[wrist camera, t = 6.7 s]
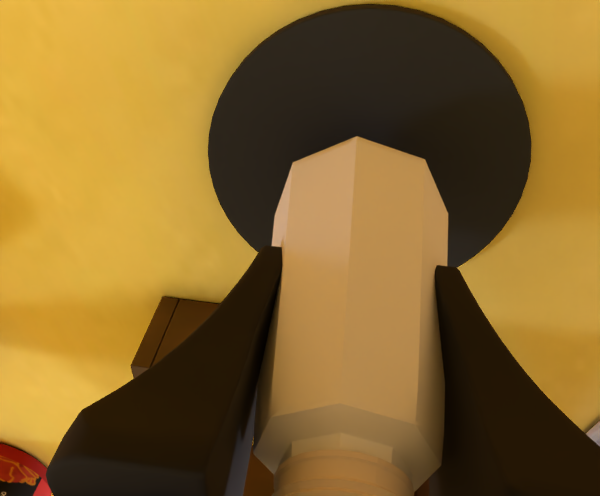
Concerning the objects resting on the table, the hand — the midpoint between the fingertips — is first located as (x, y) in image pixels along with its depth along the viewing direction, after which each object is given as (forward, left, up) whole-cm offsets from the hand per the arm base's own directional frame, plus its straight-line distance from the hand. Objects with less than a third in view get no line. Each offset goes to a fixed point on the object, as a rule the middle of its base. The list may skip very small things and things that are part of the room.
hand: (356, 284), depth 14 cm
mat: (0, 0, -6) cm, 6 cm away
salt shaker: (0, 0, -4) cm, 4 cm away
